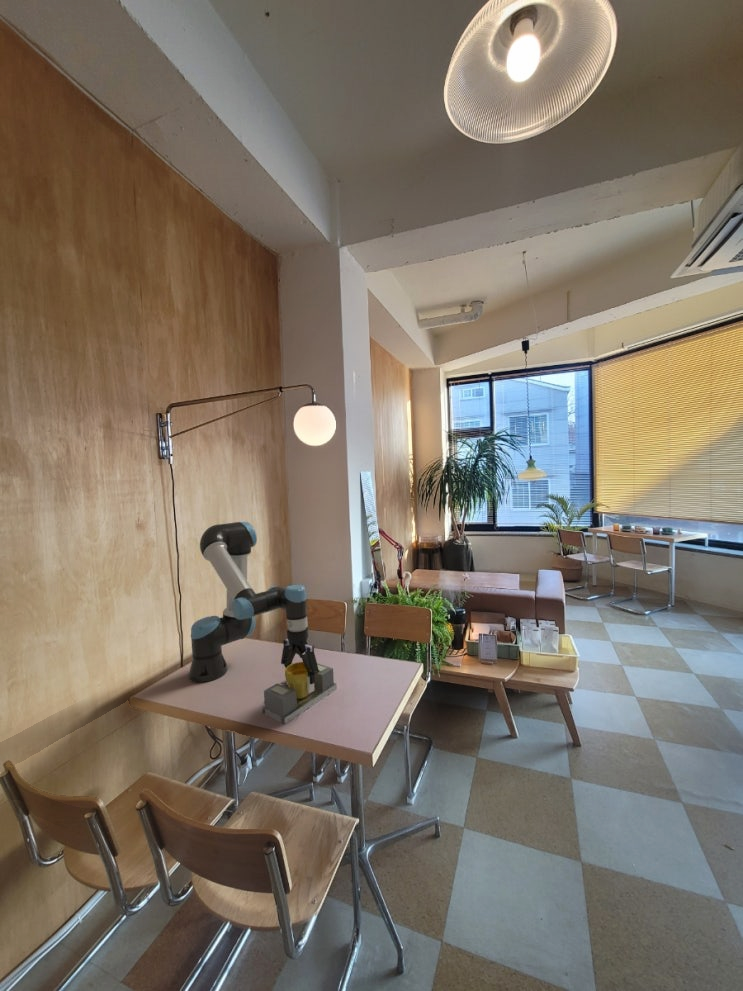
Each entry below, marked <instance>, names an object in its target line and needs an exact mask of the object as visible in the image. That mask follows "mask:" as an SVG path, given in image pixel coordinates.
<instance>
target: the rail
mask: <svg viewBox="0 0 743 991" xmlns="http://www.w3.org/2000/svg"><path fill="white" fill-rule="evenodd" d="M337 689H338V686H337V683H335V682H334V684H332V685H331V686H329V687H328V688H326V689H325V690H320V689H317V688H314V691H313V692H311V693H310V694H308V695H307V696H306V697H304V698H297V708H296V709H294V710H293V711H291V712H290V713H288V714H287V715H285V716H281V715H279V714H277V713H275V712H273V711H271V710H269V709H267V708H265V705H263V706H262V707H261V713H262V714H263V715H265V716H267V717H270V718H272V719H274V720H276V721H277V722H280V723H282V724H284V725H286V724H288V723H289V722H290V721H292V720H293V719H295V718H297V717H298V716H299V715H301V714H303V712H305V711H307V710H308V709H310V708H311V707H312V706H314V705H316V704H317V703H319V702H320V701H322V700H323V699H324V698H326V697H327V696H329V695H330V694H331V693H333V692H335V691H336V690H337Z"/></svg>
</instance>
